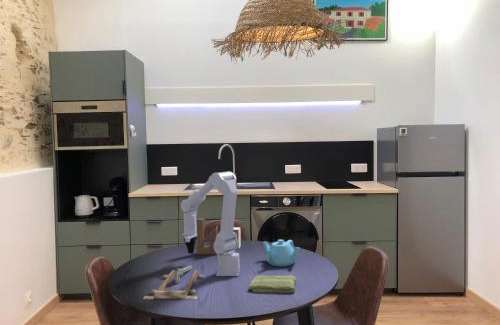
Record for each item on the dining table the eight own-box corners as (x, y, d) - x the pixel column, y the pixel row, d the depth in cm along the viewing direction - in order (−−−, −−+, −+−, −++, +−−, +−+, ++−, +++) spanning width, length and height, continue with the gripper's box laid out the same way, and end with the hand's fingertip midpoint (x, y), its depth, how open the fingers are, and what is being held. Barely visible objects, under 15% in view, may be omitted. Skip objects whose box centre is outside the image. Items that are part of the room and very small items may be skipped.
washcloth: (253, 280, 156) (253, 272, 156) (296, 282, 154) (296, 274, 153) (248, 293, 144) (248, 285, 143) (295, 295, 141) (295, 286, 140)
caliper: (177, 284, 153) (177, 269, 153) (175, 284, 153) (174, 269, 153) (192, 267, 173) (192, 254, 173) (190, 267, 174) (190, 254, 173)
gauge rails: (208, 273, 165) (208, 267, 165) (196, 299, 138) (196, 292, 138) (162, 273, 166) (162, 268, 166) (142, 299, 139) (142, 292, 139)
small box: (224, 248, 202) (223, 229, 202) (226, 245, 208) (226, 226, 207) (239, 249, 201) (238, 229, 200) (241, 246, 206) (240, 227, 206)
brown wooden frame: (217, 254, 192) (216, 219, 191) (196, 254, 193) (195, 219, 192) (218, 252, 195) (217, 218, 194) (198, 252, 196) (197, 218, 195)
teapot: (300, 267, 170) (300, 243, 170) (267, 269, 169) (267, 245, 168) (293, 257, 185) (293, 235, 185) (263, 258, 184) (262, 236, 184)
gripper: (185, 221, 185) (185, 248, 185) (178, 228, 170) (179, 258, 171) (199, 221, 184) (200, 248, 185) (193, 228, 170) (194, 258, 171)
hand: (191, 253), depth 178 cm, fingers closed
